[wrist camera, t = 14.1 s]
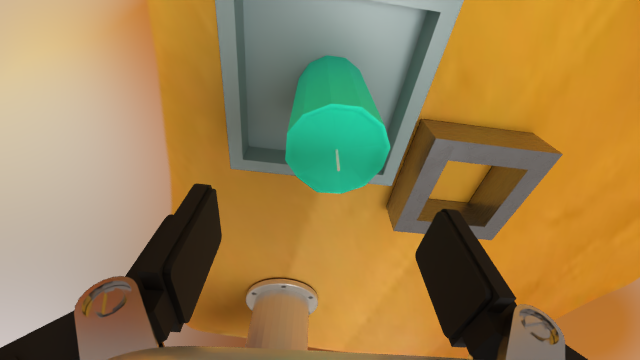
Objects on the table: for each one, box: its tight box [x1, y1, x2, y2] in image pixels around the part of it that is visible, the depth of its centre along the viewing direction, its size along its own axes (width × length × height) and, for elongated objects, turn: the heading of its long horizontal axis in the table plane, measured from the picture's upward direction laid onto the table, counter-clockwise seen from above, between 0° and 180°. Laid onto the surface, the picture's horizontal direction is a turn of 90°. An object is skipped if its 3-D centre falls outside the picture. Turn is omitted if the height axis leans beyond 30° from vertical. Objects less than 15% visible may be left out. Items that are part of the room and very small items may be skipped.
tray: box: [215, 0, 464, 186], centre depth 22 cm, size 16×16×4 cm
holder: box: [387, 119, 563, 240], centre depth 28 cm, size 12×12×4 cm
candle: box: [285, 55, 391, 194], centre depth 18 cm, size 6×6×12 cm
